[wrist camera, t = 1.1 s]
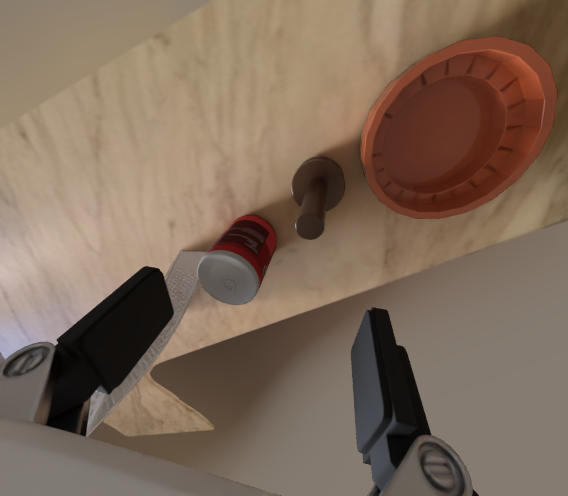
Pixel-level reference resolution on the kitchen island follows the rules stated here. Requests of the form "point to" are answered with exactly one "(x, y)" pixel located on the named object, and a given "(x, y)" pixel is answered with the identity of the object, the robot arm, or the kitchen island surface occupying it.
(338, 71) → the kitchen island surface
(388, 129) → the bowl
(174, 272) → the skyscraper
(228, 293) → the canned food
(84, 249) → the kitchen island surface
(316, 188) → the brown coffee tamper
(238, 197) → the kitchen island surface
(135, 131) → the kitchen island surface
